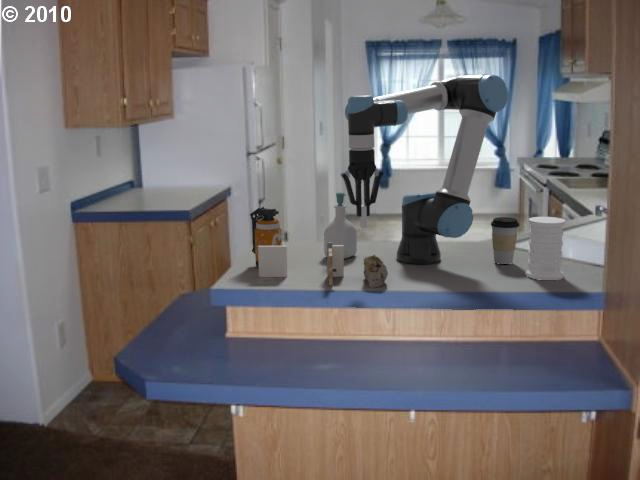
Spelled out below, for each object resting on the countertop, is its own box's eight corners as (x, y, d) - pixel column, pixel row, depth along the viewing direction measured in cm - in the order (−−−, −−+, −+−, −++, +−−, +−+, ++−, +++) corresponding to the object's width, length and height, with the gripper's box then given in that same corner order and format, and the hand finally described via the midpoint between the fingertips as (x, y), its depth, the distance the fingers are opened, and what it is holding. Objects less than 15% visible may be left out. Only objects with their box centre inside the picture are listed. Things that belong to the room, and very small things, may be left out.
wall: (343, 275, 235) (343, 241, 233) (343, 276, 233) (343, 243, 231) (259, 275, 236) (258, 242, 234) (258, 277, 234) (257, 243, 232)
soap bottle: (359, 255, 262) (358, 191, 257) (345, 260, 254) (344, 195, 249) (336, 252, 267) (335, 190, 262) (321, 257, 259) (321, 193, 254)
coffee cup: (487, 265, 246) (488, 221, 242) (491, 258, 254) (493, 216, 251) (515, 267, 242) (518, 222, 239) (519, 260, 251) (521, 217, 248)
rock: (391, 284, 220) (385, 251, 221) (370, 288, 219) (364, 255, 220) (386, 286, 232) (380, 255, 233) (366, 289, 231) (360, 258, 232)
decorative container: (545, 283, 224) (548, 224, 220) (517, 274, 233) (519, 219, 229) (571, 277, 230) (574, 220, 226) (542, 269, 239) (545, 215, 235)
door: (328, 275, 233) (328, 247, 231) (335, 275, 233) (335, 247, 231) (329, 285, 222) (329, 256, 220) (336, 285, 222) (336, 256, 220)
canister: (272, 270, 242) (270, 211, 238) (245, 266, 248) (243, 208, 244) (287, 265, 249) (286, 206, 245) (261, 261, 255) (259, 204, 251)
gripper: (379, 146, 222) (380, 222, 227) (337, 148, 220) (339, 226, 225) (386, 148, 215) (387, 227, 220) (342, 151, 212) (345, 231, 218)
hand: (363, 226), depth 223 cm, fingers closed
